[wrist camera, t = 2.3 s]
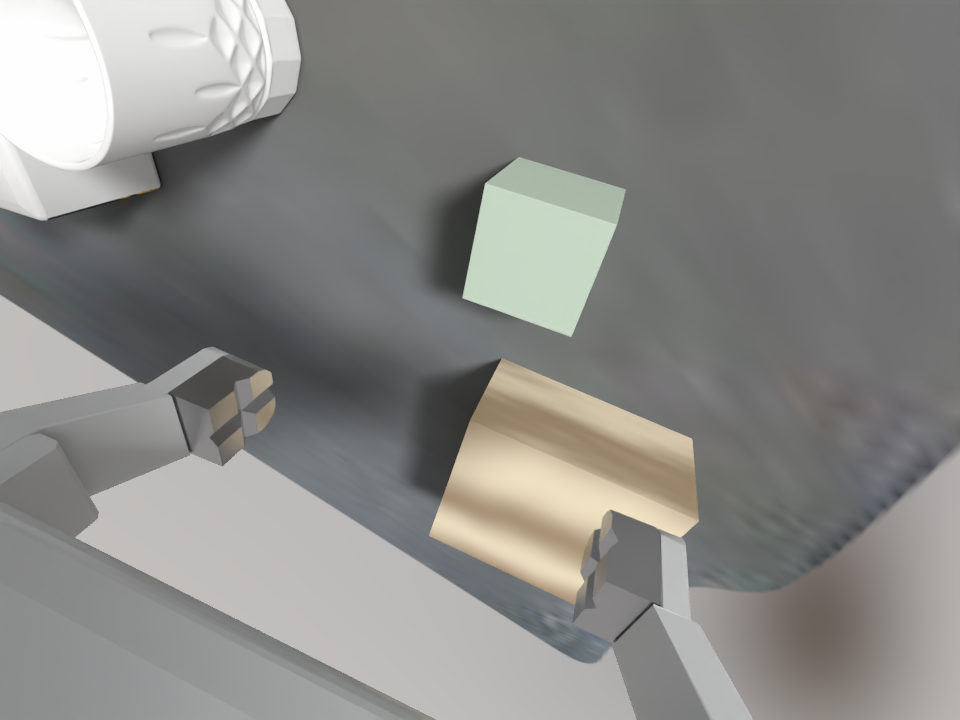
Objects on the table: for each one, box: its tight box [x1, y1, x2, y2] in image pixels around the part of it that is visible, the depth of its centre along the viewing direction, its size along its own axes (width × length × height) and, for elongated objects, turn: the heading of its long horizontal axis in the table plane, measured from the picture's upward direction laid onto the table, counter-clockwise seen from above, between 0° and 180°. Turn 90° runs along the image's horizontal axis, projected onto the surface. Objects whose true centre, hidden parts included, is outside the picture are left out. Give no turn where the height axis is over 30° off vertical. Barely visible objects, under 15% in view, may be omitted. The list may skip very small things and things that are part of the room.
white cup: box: [0, 0, 301, 171], centre depth 17 cm, size 8×8×10 cm
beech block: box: [429, 359, 699, 605], centre depth 28 cm, size 12×12×6 cm
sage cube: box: [463, 157, 626, 337], centre depth 19 cm, size 5×5×5 cm
